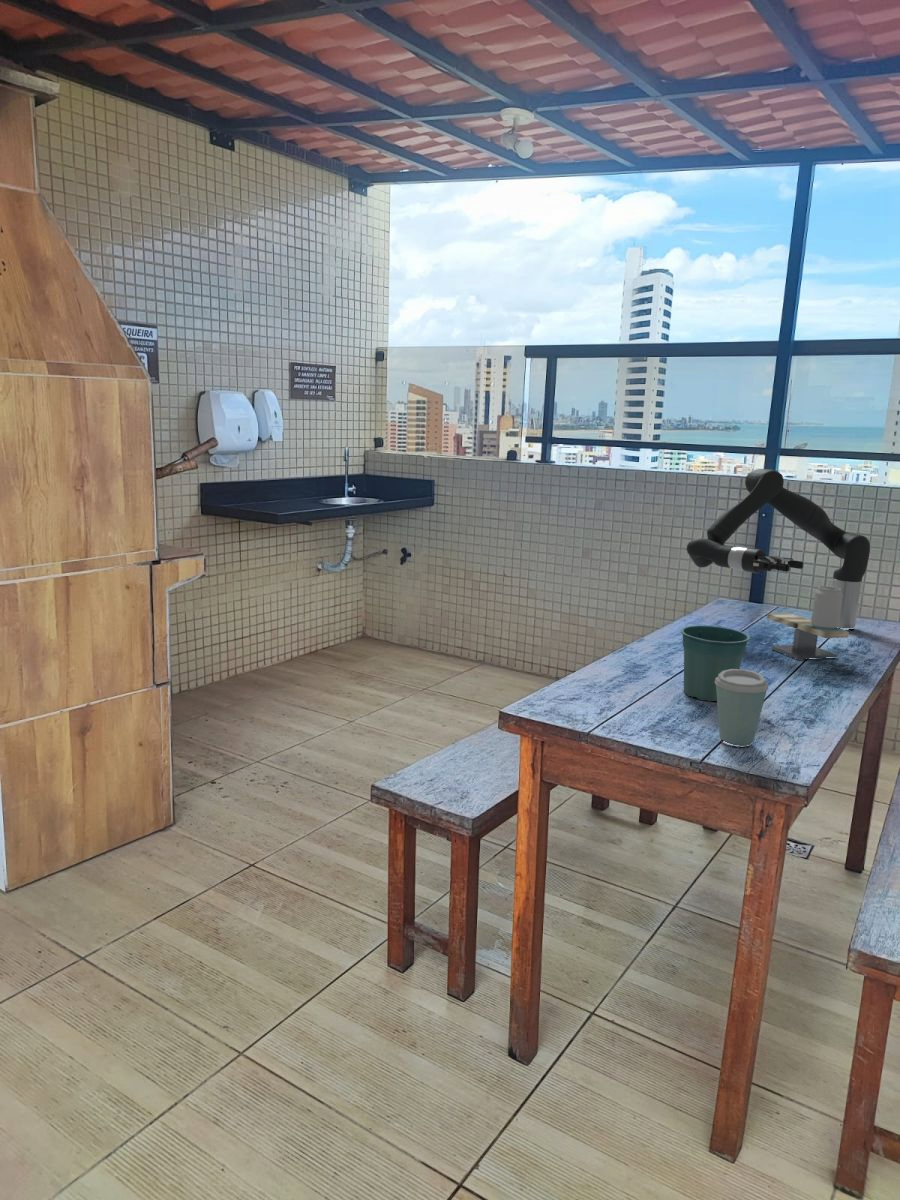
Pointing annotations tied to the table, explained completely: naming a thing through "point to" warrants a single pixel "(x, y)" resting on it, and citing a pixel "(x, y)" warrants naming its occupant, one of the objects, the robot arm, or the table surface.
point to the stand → (804, 647)
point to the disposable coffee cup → (739, 704)
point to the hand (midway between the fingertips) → (796, 566)
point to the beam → (806, 625)
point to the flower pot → (710, 657)
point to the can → (827, 608)
